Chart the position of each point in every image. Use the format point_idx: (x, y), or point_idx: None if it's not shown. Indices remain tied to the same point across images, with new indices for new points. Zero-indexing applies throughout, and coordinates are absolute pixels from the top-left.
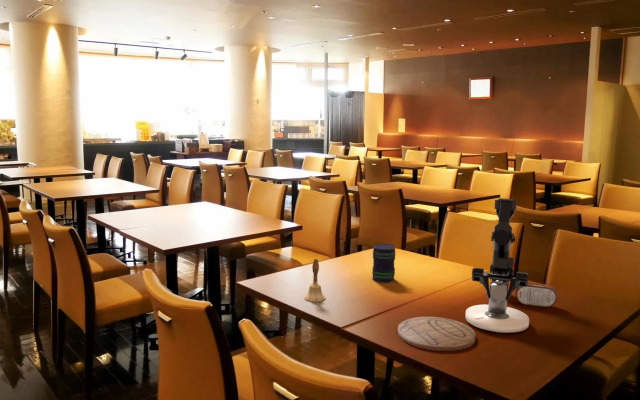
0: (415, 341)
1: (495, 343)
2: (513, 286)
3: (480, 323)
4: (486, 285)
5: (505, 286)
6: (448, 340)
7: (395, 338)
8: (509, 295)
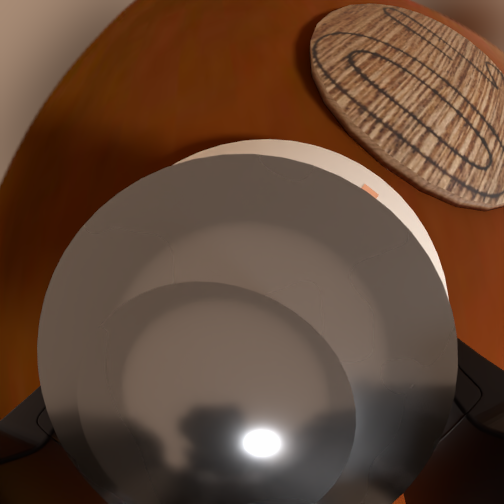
0: (432, 19)
1: (236, 88)
2: (16, 410)
3: (331, 154)
4: (467, 361)
5: (73, 239)
6: (375, 27)
7: None
8: None
